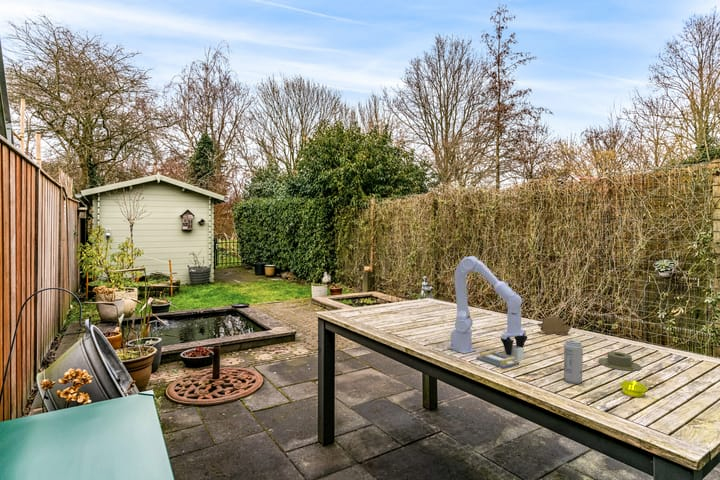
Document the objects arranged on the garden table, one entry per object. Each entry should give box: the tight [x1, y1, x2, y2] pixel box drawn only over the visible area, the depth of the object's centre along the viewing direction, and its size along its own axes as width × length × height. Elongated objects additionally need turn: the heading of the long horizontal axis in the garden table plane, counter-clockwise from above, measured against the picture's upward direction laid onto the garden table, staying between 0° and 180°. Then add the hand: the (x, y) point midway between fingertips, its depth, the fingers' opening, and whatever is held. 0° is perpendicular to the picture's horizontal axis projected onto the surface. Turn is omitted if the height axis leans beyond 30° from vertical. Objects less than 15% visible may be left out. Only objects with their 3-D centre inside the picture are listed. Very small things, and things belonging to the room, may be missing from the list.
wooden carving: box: [537, 315, 572, 335], centre depth 212 cm, size 16×5×10 cm, turn 80°
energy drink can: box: [563, 338, 584, 385], centre depth 145 cm, size 6×6×15 cm
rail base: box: [476, 350, 520, 370], centre depth 166 cm, size 14×10×3 cm
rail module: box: [503, 344, 525, 362], centre depth 172 cm, size 7×4×5 cm, turn 32°
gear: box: [619, 379, 648, 398], centre depth 134 cm, size 8×4×8 cm
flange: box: [598, 351, 642, 372], centre depth 163 cm, size 5×15×15 cm
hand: (513, 353), depth 172 cm, fingers open, 7 cm apart
